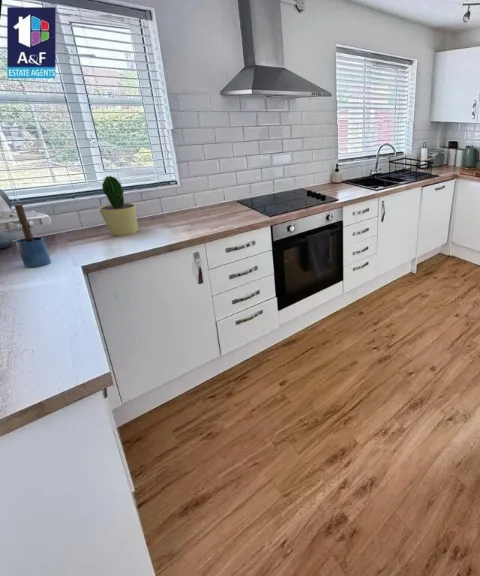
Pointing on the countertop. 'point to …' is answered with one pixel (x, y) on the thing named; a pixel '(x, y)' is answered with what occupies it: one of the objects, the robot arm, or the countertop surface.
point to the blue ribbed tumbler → (33, 252)
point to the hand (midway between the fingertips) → (26, 226)
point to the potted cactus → (118, 209)
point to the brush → (24, 223)
